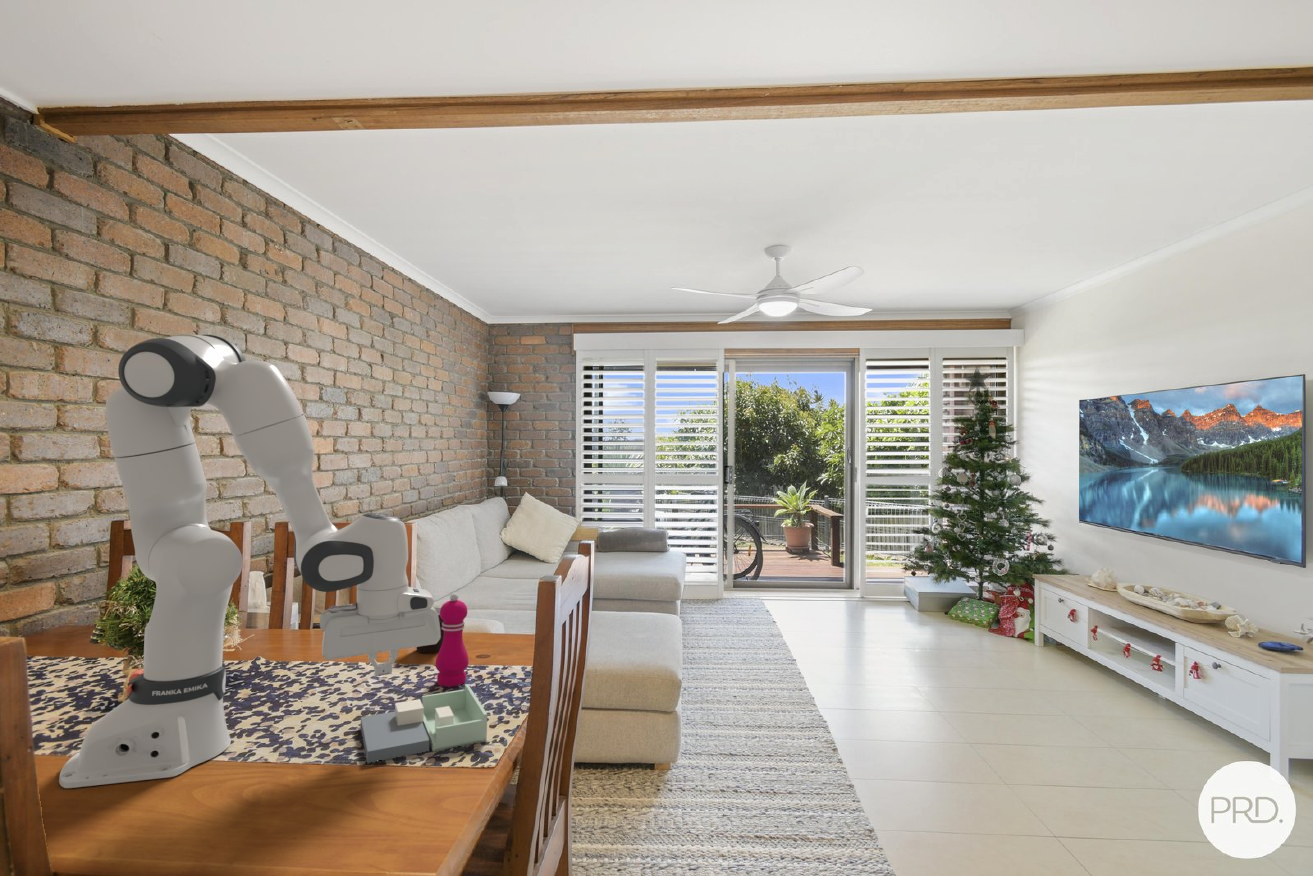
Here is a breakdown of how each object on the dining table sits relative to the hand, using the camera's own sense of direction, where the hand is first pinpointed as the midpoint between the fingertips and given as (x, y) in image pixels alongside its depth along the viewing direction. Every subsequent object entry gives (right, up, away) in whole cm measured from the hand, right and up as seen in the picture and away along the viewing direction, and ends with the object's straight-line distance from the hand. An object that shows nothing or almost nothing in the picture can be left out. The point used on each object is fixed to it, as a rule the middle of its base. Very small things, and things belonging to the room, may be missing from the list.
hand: (383, 674), depth 120 cm
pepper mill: (+4, -12, +26) cm, 29 cm away
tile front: (+11, -9, -2) cm, 14 cm away
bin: (+12, -12, +3) cm, 17 cm away
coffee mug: (-8, -11, +46) cm, 48 cm away
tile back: (+4, -9, +2) cm, 10 cm away
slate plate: (+3, -11, -2) cm, 12 cm away
